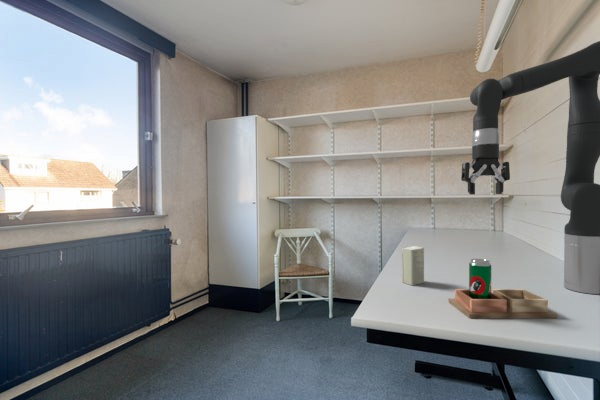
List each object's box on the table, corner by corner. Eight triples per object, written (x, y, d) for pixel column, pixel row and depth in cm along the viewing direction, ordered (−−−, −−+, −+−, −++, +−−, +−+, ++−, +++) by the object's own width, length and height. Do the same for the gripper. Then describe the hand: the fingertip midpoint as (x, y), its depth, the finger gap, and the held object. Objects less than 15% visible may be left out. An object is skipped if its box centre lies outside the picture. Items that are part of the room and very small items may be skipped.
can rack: (524, 301, 85) (524, 287, 85) (556, 318, 74) (556, 301, 74) (448, 302, 86) (448, 287, 86) (469, 318, 75) (469, 302, 75)
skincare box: (414, 279, 108) (414, 245, 107) (424, 283, 104) (424, 247, 104) (401, 282, 105) (401, 247, 104) (411, 286, 101) (411, 249, 101)
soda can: (494, 309, 77) (494, 262, 77) (472, 308, 78) (472, 262, 78) (486, 302, 82) (486, 258, 82) (466, 301, 83) (466, 257, 83)
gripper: (500, 145, 102) (500, 194, 103) (457, 146, 103) (457, 194, 103) (515, 142, 95) (515, 194, 95) (469, 142, 95) (469, 194, 95)
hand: (485, 194), depth 99 cm, fingers open, 8 cm apart
